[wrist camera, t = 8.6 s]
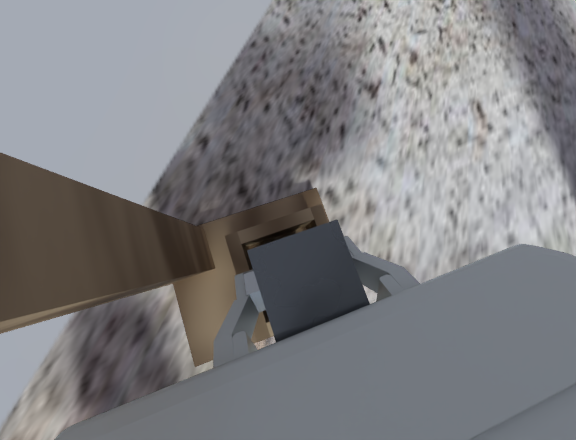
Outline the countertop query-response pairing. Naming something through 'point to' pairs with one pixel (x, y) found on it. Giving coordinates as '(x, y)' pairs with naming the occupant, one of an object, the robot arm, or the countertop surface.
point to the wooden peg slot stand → (127, 252)
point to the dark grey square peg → (307, 279)
